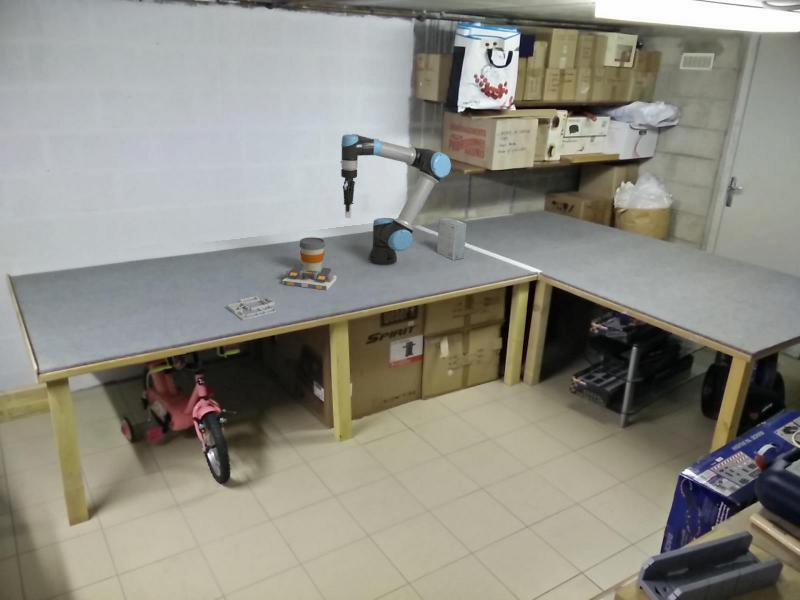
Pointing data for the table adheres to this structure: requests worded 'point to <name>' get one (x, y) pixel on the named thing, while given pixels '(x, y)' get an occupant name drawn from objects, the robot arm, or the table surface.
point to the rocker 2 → (323, 274)
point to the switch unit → (309, 280)
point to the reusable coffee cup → (312, 253)
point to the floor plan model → (240, 310)
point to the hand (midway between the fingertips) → (348, 217)
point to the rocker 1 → (296, 271)
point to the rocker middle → (309, 273)
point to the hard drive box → (451, 238)
